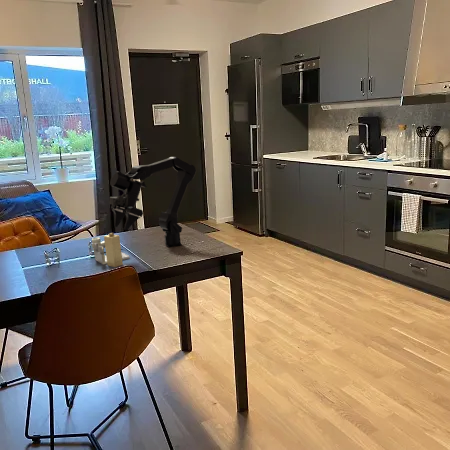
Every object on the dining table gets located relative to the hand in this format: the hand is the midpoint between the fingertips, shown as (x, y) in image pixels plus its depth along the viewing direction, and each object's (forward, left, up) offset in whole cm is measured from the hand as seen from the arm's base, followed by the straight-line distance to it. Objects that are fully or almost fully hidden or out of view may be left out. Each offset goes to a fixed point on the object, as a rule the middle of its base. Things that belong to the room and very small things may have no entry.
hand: (120, 228), depth 203 cm
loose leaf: (+5, +9, -13) cm, 16 cm away
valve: (+6, -15, -13) cm, 21 cm away
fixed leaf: (+5, 0, -13) cm, 14 cm away
